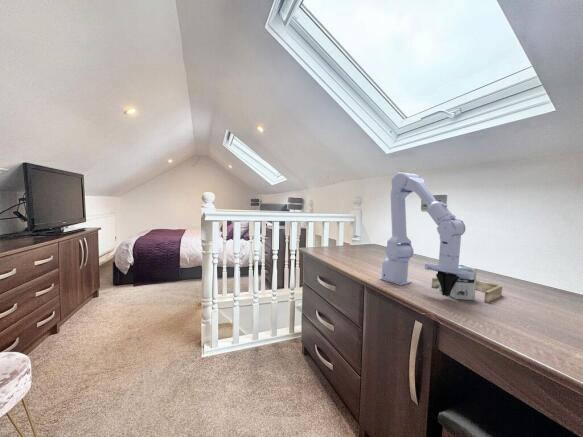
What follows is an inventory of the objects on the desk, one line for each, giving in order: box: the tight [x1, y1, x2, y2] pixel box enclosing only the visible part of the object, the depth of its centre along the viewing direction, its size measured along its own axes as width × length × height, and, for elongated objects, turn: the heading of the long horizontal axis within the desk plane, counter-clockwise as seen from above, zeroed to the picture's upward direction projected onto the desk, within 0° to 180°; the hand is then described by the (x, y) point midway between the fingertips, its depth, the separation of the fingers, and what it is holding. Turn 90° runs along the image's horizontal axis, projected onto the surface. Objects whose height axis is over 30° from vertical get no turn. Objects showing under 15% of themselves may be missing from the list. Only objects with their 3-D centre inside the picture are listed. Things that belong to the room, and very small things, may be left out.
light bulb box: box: [438, 262, 478, 301], centre depth 90 cm, size 11×7×11 cm, turn 177°
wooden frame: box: [431, 276, 503, 304], centre depth 94 cm, size 18×14×4 cm
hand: (446, 295), depth 85 cm, fingers closed
